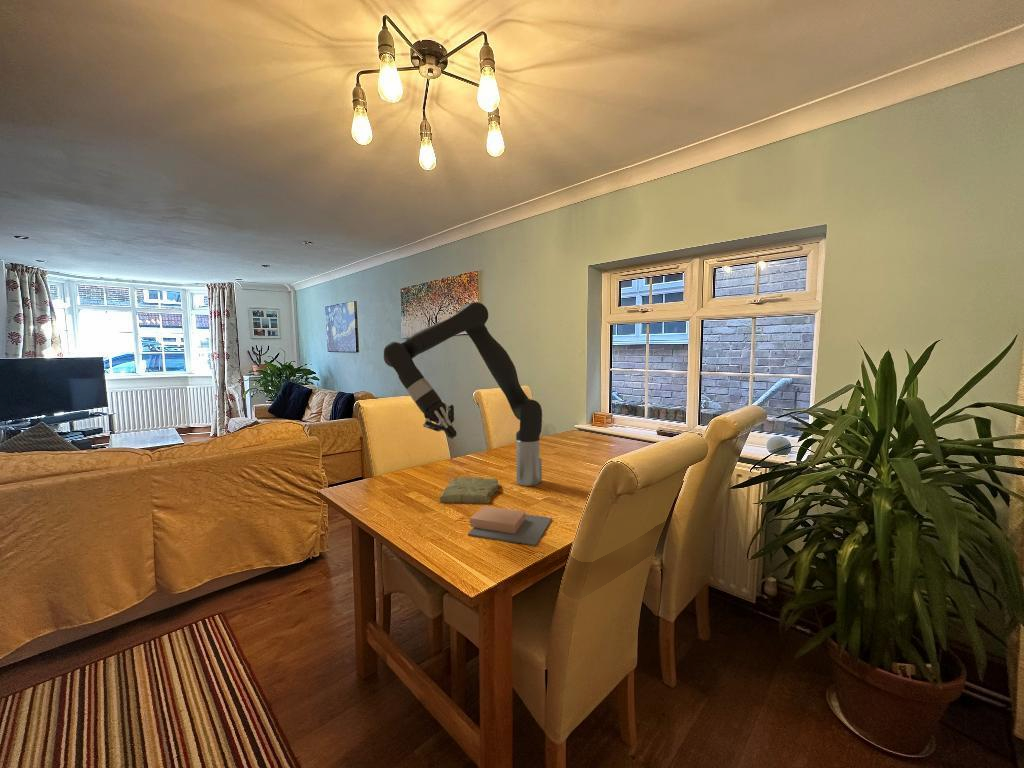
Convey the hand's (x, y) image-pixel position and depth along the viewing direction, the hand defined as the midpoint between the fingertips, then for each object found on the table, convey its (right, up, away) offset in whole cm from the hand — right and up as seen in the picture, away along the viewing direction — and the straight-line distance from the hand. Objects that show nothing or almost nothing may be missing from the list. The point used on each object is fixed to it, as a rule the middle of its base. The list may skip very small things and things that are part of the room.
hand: (454, 436), depth 134 cm
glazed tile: (+9, -23, -11) cm, 27 cm away
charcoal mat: (+19, -25, -15) cm, 35 cm away
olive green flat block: (+4, -23, +14) cm, 28 cm away
